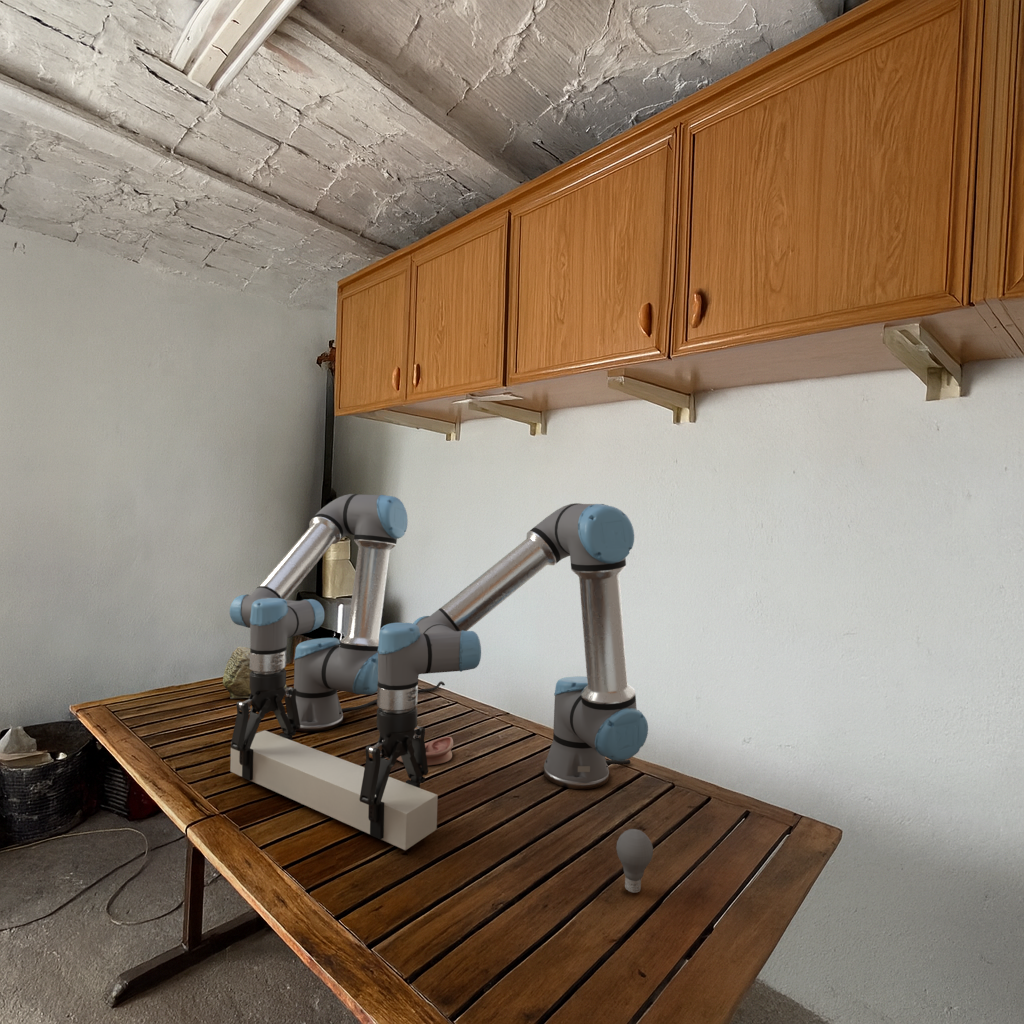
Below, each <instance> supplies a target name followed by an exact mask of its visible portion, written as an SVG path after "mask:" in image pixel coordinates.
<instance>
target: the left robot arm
mask: <svg viewBox="0 0 1024 1024" xmlns="http://www.w3.org/2000/svg"><path fill="white" fill-rule="evenodd" d="M406 509H407V508H406V507H405V504H404V503H403V501H402V500H401V499H400V498H398V497H396V496H393V495H385V494H361V493H360V494H358V493H349V494H343V495H341V496H338V497H337V498H335V499H332V501H329V502H328V503H327V504H326V505H324V506H323V507H322V508H320V510H318V511H317V512H316V514H314V515H313V517H312V518H311V519H310V521H309V527H308V528H307V529H306V531H305V532H304V533H303V534H302V535H301V537H300V538H299V539H297V540H296V542H295V543H294V545H292V547H291V548H290V549H289V550H288V551H287V552H286V553H285V555H284V556H283V557H282V558H281V559H280V560H279V561H278V563H276V565H275V566H274V567H273V569H271V571H270V572H269V573H268V574H267V575H266V576H265V578H264V579H263V580H262V581H261V582H260V583H259V585H257V587H256V588H255V589H254V590H253V591H252V593H250V594H249V593H248V594H247V593H246V594H241V595H238V596H236V597H235V598H234V599H233V600H232V602H231V604H230V606H229V617H230V619H231V621H232V622H233V624H235V625H236V626H240V627H245V628H247V629H249V633H250V635H249V637H250V638H249V639H250V641H249V643H250V644H249V645H250V646H249V648H250V670H252V671H251V672H250V684H249V686H250V690H251V694H250V697H249V698H247V699H246V700H243V701H241V700H238V701H237V702H236V717H235V722H234V727H233V731H232V737H231V741H230V749H231V748H232V749H235V750H237V751H240V755H239V759H240V760H239V763H240V764H241V765H242V777H241V778H243V779H244V780H247V781H250V780H253V749H250V747H251V744H252V742H253V739H254V737H255V734H256V733H258V729H259V726H260V724H261V721H262V720H263V719H264V718H265V715H267V714H268V713H270V712H273V714H274V716H275V718H276V720H277V723H278V724H279V726H280V728H281V730H282V733H281V732H280V733H279V736H281V737H284V738H287V739H289V740H292V741H293V736H295V735H296V734H297V732H301V733H316V732H325V731H329V730H332V729H335V728H337V727H339V726H340V725H342V723H343V722H344V714H343V712H350V711H357V710H361V709H364V708H367V707H369V706H372V705H374V704H377V698H376V699H374V700H371V701H369V702H367V703H364V704H361V705H357V706H350V707H343V708H342V706H341V702H340V699H339V695H338V691H340V692H347V693H352V694H355V695H358V696H359V695H366V696H370V695H374V694H377V685H378V650H377V649H378V644H379V633H380V630H381V626H382V617H383V609H384V602H385V595H386V594H385V593H386V586H387V578H388V569H389V564H390V563H389V562H390V554H391V551H392V550H393V549H394V548H395V547H396V546H397V541H398V539H399V540H400V539H401V538H403V537H404V536H405V534H406V532H407V530H408V522H409V521H408V513H407V510H406ZM346 536H354V537H353V541H354V543H355V544H356V546H357V547H358V548H357V549H358V550H357V556H356V564H355V571H354V572H355V574H354V580H353V588H352V594H351V602H350V610H349V617H348V618H349V619H348V626H347V634H346V635H345V636H344V637H343V638H342V639H341V640H339V638H337V637H321V638H313V639H307V640H304V641H302V642H299V643H298V644H297V645H296V647H295V652H294V653H295V654H294V657H293V660H294V661H293V662H294V668H293V669H294V670H293V687H291V686H287V687H286V689H285V688H284V686H285V685H287V670H286V667H287V647H288V646H287V643H288V639H290V638H292V637H296V636H299V635H303V634H308V633H311V632H312V631H314V630H316V629H319V628H320V627H321V626H322V625H323V623H324V621H325V609H324V606H323V605H322V604H321V603H320V601H318V600H316V599H313V598H309V599H301V600H292V599H289V598H290V596H291V595H292V594H293V593H294V591H295V590H296V589H297V588H298V587H299V585H301V583H302V582H303V580H304V579H305V578H306V577H307V576H308V574H309V573H310V572H311V571H312V569H313V568H314V567H315V566H316V565H317V563H318V562H319V561H320V560H321V558H322V557H323V556H324V555H325V553H327V551H328V550H329V549H330V547H331V546H332V545H336V544H338V543H339V542H340V541H341V539H343V538H344V537H346ZM440 686H446V684H445V682H444V681H442V680H441V681H439V682H438V683H437V684H436V685H435V686H433V687H430V688H422V689H421V688H420V689H419V688H418V693H427V692H434V691H437V689H439V687H440ZM283 700H284V703H285V705H284V704H283ZM250 782H251V781H250Z"/></svg>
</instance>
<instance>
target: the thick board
mask: <svg viewBox="0 0 1024 1024" xmlns="http://www.w3.org/2000/svg"><path fill="white" fill-rule="evenodd" d="M250 749H253V780H250V782H252V783H255V784H257V785H259V786H261V787H264V788H266V789H268V790H270V791H272V792H275V793H277V794H279V795H280V796H281V795H282V796H284V797H285V798H288V799H290V800H293V801H295V802H297V803H299V804H301V805H304V806H306V807H308V808H311V809H312V810H315V811H317V812H319V813H321V814H324V815H325V816H328V817H331V818H332V819H335V820H337V821H339V822H341V823H343V824H345V825H348V826H350V827H353V828H354V829H356V830H359V831H361V832H364V833H365V834H368V835H370V820H369V818H368V813H369V805H368V804H365V803H363V802H360V793H361V787H362V781H363V775H364V769H365V766H362V765H359V764H357V763H353V762H352V761H351V762H350V761H348V760H345V759H343V758H341V757H338V756H335V755H332V754H329V753H327V752H324V751H321V750H319V749H316V748H313V747H311V746H308V745H305V744H302V743H300V742H297V741H294V740H293V739H292V740H289V739H287V738H284V737H281V736H280V734H275V733H273V732H271V731H268V730H265V729H264V730H261V731H258V732H256V734H255V737H254V739H253V742H252V744H251V747H250ZM239 755H240V751H237V750H235V749H232V748H231V747H230V770H229V771H230V773H233V774H234V775H237V776H239V777H241V778H242V765H241V764H240V763H239V760H240V759H239ZM375 796H376V795H375ZM438 799H439V797H438V794H437V793H434V792H432V791H428V790H426V789H423V788H421V787H420V788H418V787H415V786H413V785H410V784H407V783H406V781H402V780H399V779H397V778H394V777H391V776H389V777H388V781H387V784H386V787H385V790H384V793H383V797H382V800H381V802H384V838H383V839H381V840H380V841H384V842H385V843H388V844H390V845H393V846H395V847H397V848H399V849H401V850H403V851H407V850H409V849H410V848H412V847H413V846H415V845H416V844H417V843H419V842H420V841H421V840H423V839H425V838H426V837H428V836H429V835H430V834H432V833H433V832H435V831H436V830H438V829H437V828H438Z"/></svg>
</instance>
